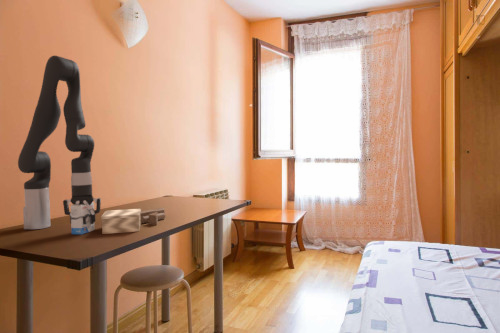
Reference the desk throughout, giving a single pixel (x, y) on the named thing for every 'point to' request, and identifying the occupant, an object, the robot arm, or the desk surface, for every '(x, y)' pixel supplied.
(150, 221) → the wooden block set
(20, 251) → the desk surface
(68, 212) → the robot arm
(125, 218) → the chevron patterned box
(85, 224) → the ink box
